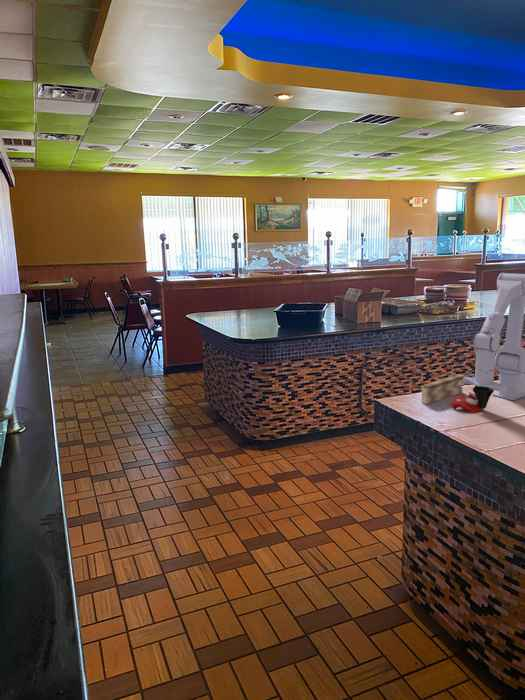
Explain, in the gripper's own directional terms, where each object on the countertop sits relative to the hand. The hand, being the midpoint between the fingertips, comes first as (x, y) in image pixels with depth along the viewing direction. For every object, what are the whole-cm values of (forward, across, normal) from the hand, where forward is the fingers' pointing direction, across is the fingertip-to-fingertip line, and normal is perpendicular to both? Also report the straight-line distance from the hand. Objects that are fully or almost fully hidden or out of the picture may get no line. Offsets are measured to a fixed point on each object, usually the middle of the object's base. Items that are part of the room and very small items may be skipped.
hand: (482, 407), depth 177 cm
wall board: (+1, -17, +1) cm, 17 cm away
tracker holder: (+1, -5, 0) cm, 5 cm away
